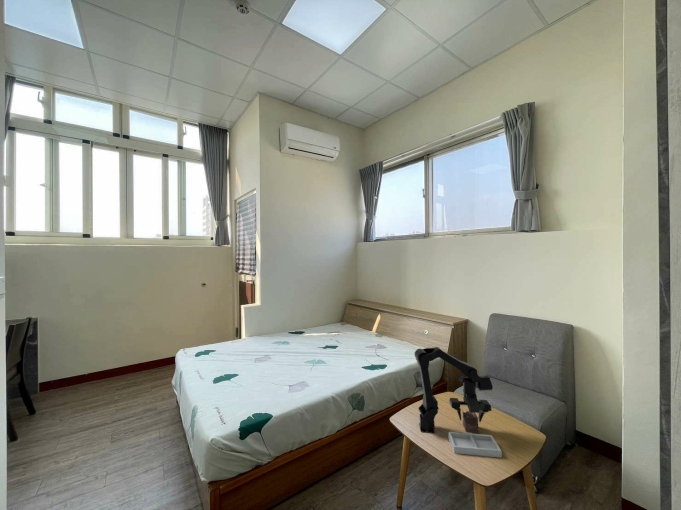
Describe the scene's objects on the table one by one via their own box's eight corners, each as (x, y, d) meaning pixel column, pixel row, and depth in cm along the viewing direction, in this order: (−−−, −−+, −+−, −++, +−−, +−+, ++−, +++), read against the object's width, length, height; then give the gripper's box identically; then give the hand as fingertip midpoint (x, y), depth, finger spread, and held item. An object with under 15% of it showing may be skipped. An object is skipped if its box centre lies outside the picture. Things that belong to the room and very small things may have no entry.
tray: (454, 453, 120) (454, 446, 120) (448, 437, 130) (448, 431, 130) (501, 457, 117) (501, 451, 117) (491, 441, 127) (491, 435, 127)
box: (478, 433, 133) (478, 418, 133) (465, 431, 134) (465, 416, 135) (475, 425, 139) (474, 411, 139) (462, 424, 140) (462, 410, 140)
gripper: (454, 396, 131) (455, 429, 130) (495, 399, 128) (496, 432, 127) (448, 386, 142) (449, 416, 141) (486, 388, 139) (487, 419, 138)
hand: (470, 421), depth 137 cm, fingers open, 9 cm apart
